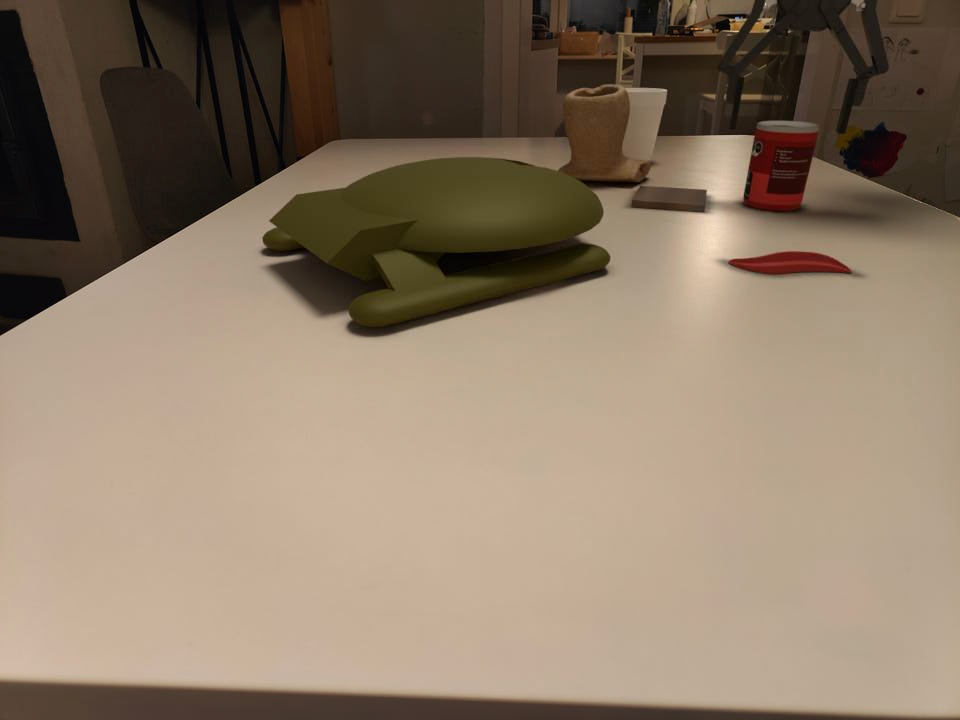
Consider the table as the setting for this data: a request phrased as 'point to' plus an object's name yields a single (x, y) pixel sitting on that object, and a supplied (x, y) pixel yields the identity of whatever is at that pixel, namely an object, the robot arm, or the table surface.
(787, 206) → the canned food
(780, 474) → the table surface
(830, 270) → the cayenne pepper
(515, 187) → the spaceship
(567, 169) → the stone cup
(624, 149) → the foam cup
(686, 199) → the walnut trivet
